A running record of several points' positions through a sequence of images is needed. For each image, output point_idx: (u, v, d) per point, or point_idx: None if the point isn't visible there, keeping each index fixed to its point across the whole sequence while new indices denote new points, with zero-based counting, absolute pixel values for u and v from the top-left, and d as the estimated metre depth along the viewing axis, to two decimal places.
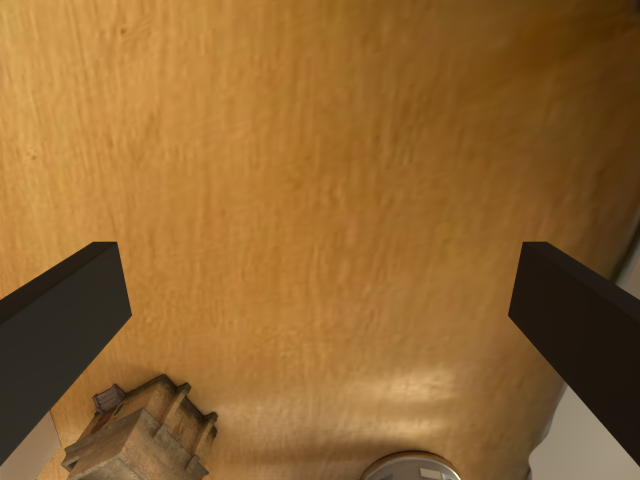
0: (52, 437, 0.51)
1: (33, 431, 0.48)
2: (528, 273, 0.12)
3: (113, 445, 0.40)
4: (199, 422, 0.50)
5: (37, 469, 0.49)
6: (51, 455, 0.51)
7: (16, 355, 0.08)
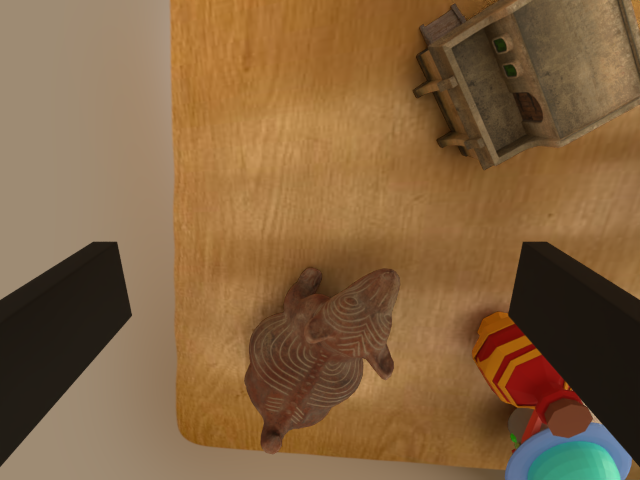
0: None
1: None
2: (528, 273, 0.12)
3: None
4: None
5: None
6: None
7: (16, 355, 0.08)
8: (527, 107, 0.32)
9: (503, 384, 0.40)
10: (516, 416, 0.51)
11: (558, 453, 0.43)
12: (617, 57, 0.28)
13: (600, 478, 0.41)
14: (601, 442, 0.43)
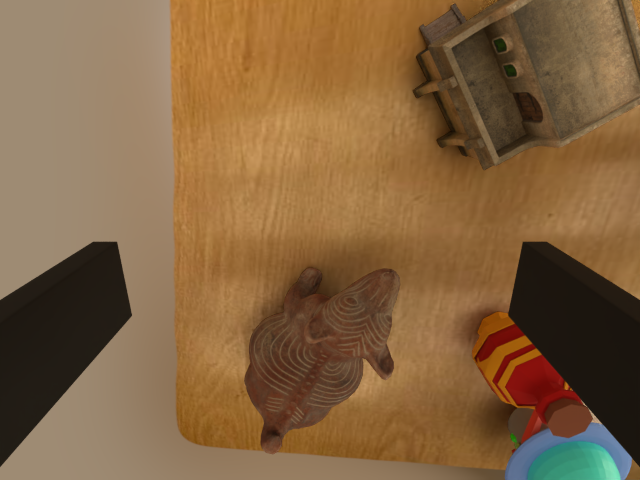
0: None
1: None
2: (528, 273, 0.12)
3: None
4: None
5: None
6: None
7: (16, 355, 0.08)
8: (527, 107, 0.32)
9: (503, 384, 0.40)
10: (516, 416, 0.51)
11: (558, 453, 0.43)
12: (617, 57, 0.28)
13: (600, 478, 0.41)
14: (601, 442, 0.43)
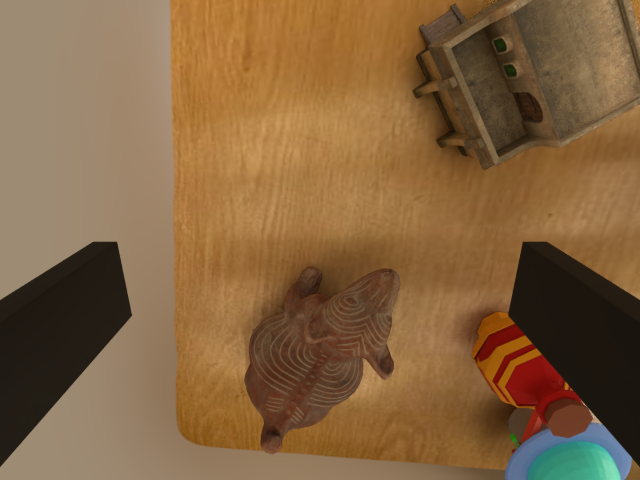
0: None
1: None
2: (528, 273, 0.12)
3: None
4: None
5: None
6: None
7: (16, 355, 0.08)
8: (527, 107, 0.32)
9: (503, 384, 0.40)
10: (516, 416, 0.51)
11: (558, 453, 0.43)
12: (617, 57, 0.28)
13: (600, 478, 0.41)
14: (601, 442, 0.43)
